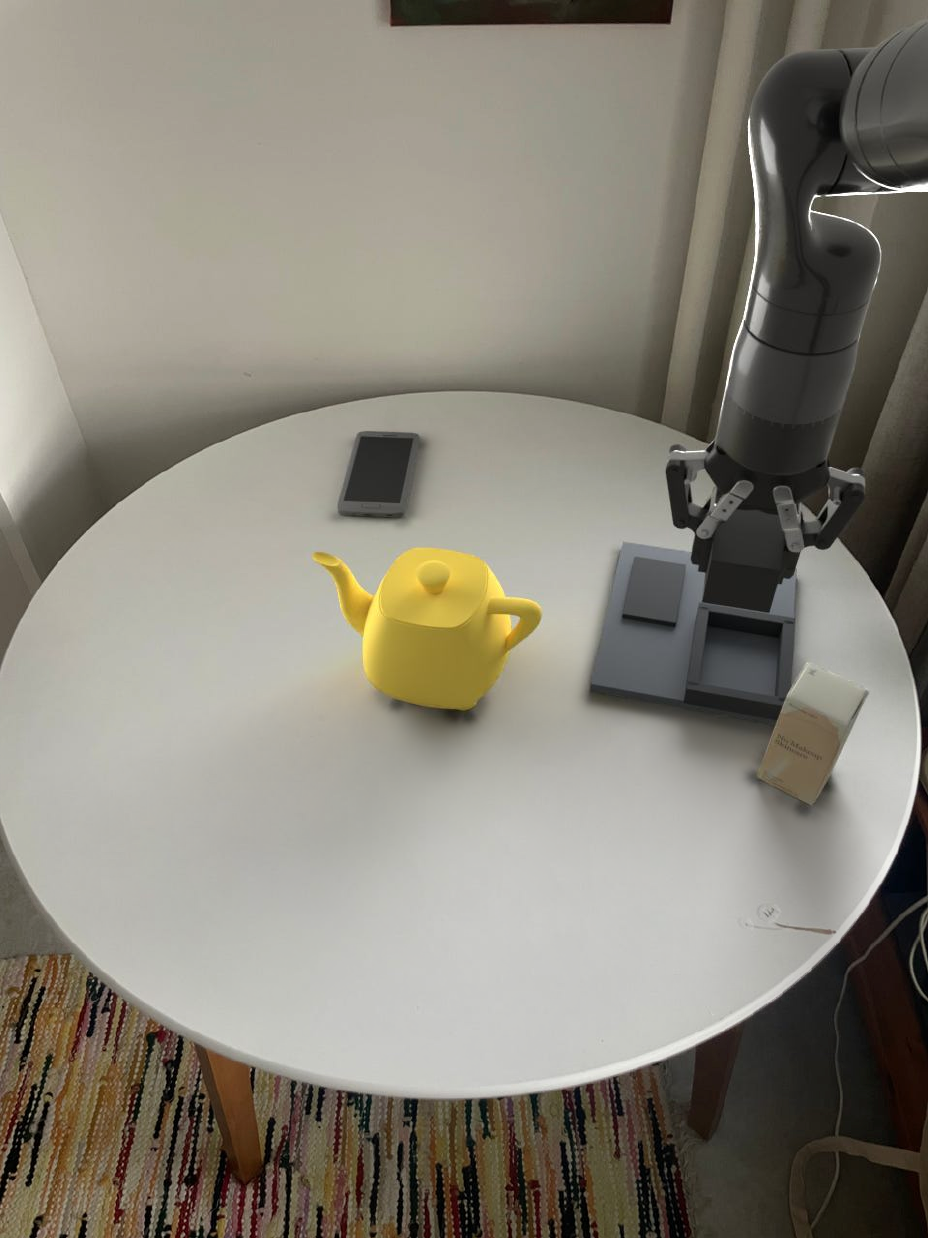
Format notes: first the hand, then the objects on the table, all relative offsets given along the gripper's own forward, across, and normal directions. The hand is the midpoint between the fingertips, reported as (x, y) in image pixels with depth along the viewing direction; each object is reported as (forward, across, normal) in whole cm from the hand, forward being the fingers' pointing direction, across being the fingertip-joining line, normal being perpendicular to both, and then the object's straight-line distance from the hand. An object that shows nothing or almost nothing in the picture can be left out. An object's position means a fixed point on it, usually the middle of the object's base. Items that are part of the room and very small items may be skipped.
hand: (740, 569), depth 79 cm
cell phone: (+16, -38, +23) cm, 47 cm away
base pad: (+16, -2, +8) cm, 18 cm away
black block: (+1, 0, 0) cm, 1 cm away
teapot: (+16, -25, -2) cm, 30 cm away
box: (+16, +8, -7) cm, 19 cm away
